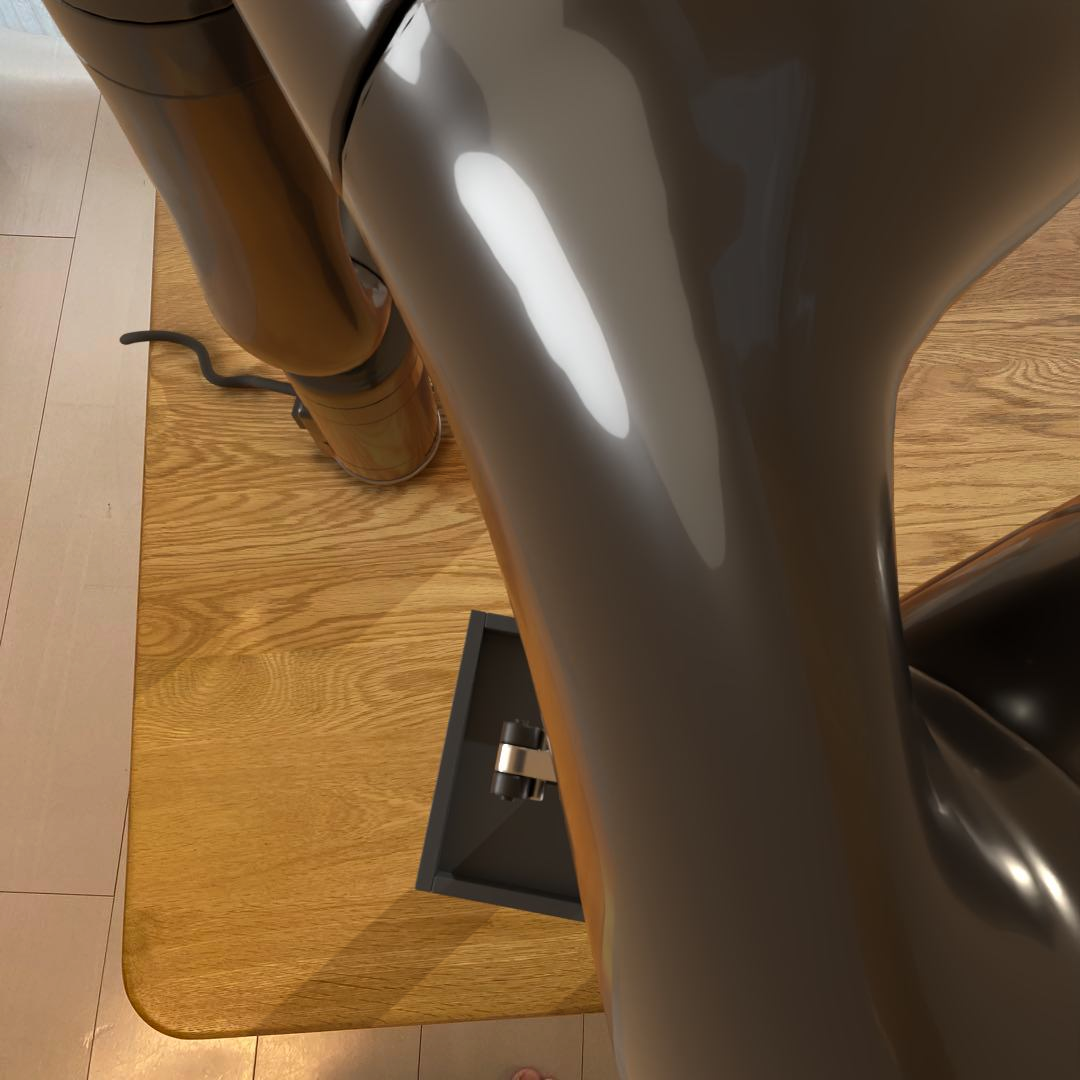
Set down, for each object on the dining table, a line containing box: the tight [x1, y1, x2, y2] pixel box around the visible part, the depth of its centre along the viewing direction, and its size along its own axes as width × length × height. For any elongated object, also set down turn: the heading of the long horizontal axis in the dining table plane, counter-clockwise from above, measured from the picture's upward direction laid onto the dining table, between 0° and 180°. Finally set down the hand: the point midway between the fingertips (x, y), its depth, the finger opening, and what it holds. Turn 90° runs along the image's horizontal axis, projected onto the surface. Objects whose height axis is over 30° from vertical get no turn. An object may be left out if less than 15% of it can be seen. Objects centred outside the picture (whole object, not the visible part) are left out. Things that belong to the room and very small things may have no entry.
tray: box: [414, 609, 585, 923], centre depth 59 cm, size 20×14×28 cm
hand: (653, 784), depth 41 cm, fingers open, 5 cm apart
